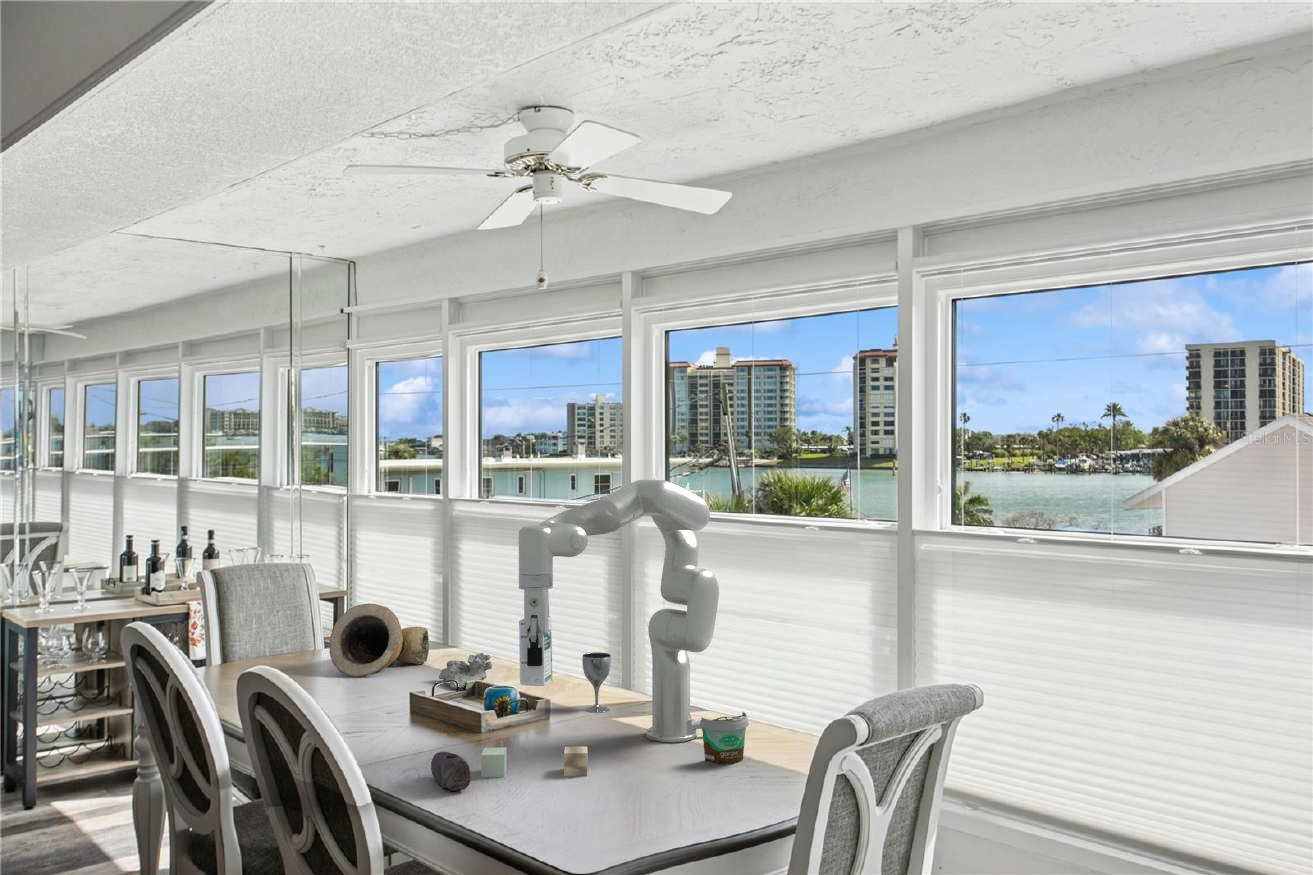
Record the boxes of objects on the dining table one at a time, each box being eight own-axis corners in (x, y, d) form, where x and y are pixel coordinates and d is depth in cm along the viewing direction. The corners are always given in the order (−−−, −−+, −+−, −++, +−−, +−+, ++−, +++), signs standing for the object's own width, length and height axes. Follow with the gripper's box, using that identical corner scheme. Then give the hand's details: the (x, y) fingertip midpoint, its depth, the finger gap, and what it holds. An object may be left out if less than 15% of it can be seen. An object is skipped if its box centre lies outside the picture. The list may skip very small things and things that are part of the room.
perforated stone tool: (423, 777, 210) (423, 745, 210) (446, 773, 213) (446, 741, 213) (448, 797, 198) (449, 763, 198) (473, 793, 200) (473, 759, 201)
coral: (497, 686, 296) (497, 653, 296) (458, 693, 287) (458, 659, 287) (469, 677, 309) (469, 645, 309) (431, 683, 300) (431, 651, 300)
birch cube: (587, 769, 216) (587, 746, 216) (586, 776, 211) (586, 753, 211) (565, 769, 216) (565, 746, 216) (564, 776, 211) (564, 753, 211)
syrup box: (544, 686, 210) (544, 619, 211) (518, 685, 212) (518, 619, 212) (552, 680, 216) (552, 615, 216) (527, 679, 217) (527, 614, 217)
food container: (713, 769, 216) (713, 724, 216) (699, 761, 221) (699, 717, 222) (759, 761, 222) (759, 717, 222) (744, 754, 227) (744, 711, 227)
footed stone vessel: (428, 686, 334) (418, 674, 306) (342, 688, 331) (323, 676, 303) (432, 618, 343) (422, 601, 315) (348, 620, 339) (330, 602, 312)
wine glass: (577, 711, 266) (577, 656, 266) (590, 704, 273) (590, 651, 273) (603, 714, 263) (603, 658, 263) (615, 707, 270) (615, 653, 270)
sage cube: (506, 770, 215) (506, 747, 215) (504, 777, 210) (504, 754, 210) (484, 770, 215) (484, 748, 215) (481, 777, 210) (481, 754, 210)
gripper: (550, 586, 206) (550, 670, 205) (554, 576, 223) (554, 654, 223) (515, 586, 205) (515, 671, 205) (522, 576, 223) (522, 654, 222)
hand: (535, 661), depth 214 cm, fingers closed on syrup box, 6 cm apart
